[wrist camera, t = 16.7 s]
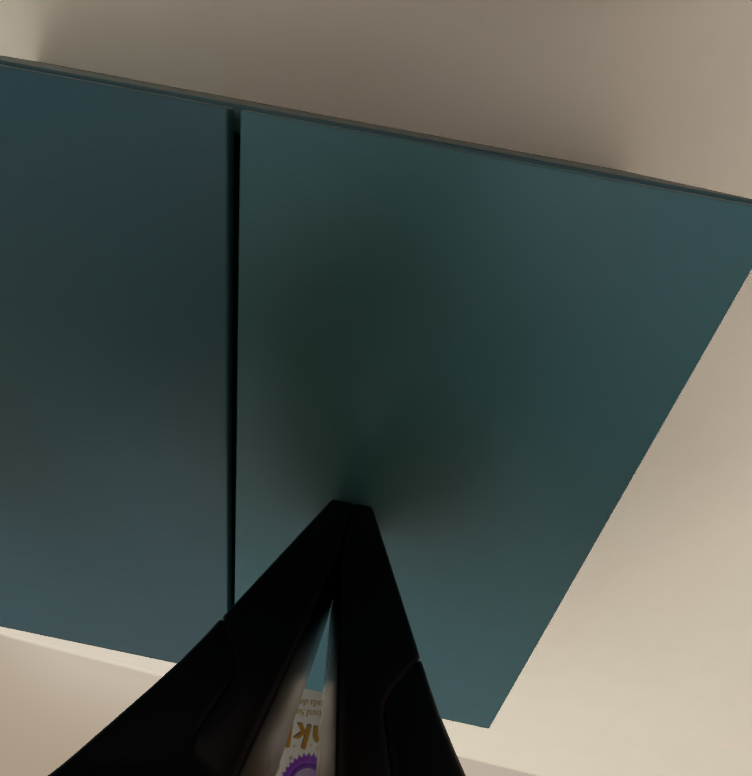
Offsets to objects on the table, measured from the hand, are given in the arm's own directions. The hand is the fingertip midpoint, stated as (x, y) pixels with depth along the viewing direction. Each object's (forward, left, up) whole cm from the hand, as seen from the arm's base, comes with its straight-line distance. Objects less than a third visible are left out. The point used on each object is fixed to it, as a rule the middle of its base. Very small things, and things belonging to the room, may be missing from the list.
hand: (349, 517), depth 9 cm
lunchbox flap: (+1, 0, 0) cm, 1 cm away
